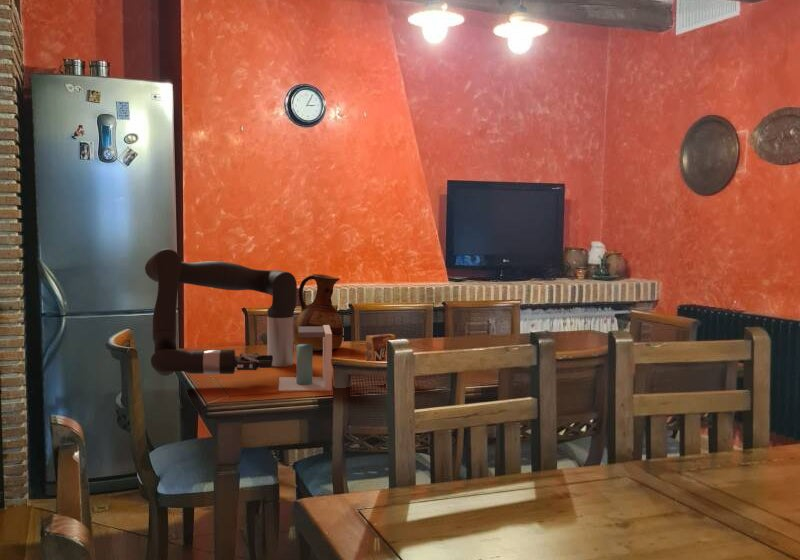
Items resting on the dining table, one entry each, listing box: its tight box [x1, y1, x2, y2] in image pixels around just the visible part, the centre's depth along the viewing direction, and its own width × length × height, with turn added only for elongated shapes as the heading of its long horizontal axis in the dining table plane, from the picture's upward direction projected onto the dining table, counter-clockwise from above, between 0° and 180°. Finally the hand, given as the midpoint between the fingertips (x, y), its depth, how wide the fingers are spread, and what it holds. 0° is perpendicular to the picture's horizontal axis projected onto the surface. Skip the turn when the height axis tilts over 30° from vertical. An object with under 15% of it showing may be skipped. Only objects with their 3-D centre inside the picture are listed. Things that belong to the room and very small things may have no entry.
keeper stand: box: [278, 325, 333, 392], centre depth 240 cm, size 18×16×18 cm
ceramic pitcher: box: [294, 273, 344, 352], centre depth 300 cm, size 20×20×30 cm
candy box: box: [364, 333, 396, 361], centre depth 245 cm, size 9×4×15 cm, turn 123°
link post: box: [295, 344, 314, 385], centre depth 240 cm, size 5×5×12 cm
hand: (272, 361), depth 238 cm, fingers open, 8 cm apart
